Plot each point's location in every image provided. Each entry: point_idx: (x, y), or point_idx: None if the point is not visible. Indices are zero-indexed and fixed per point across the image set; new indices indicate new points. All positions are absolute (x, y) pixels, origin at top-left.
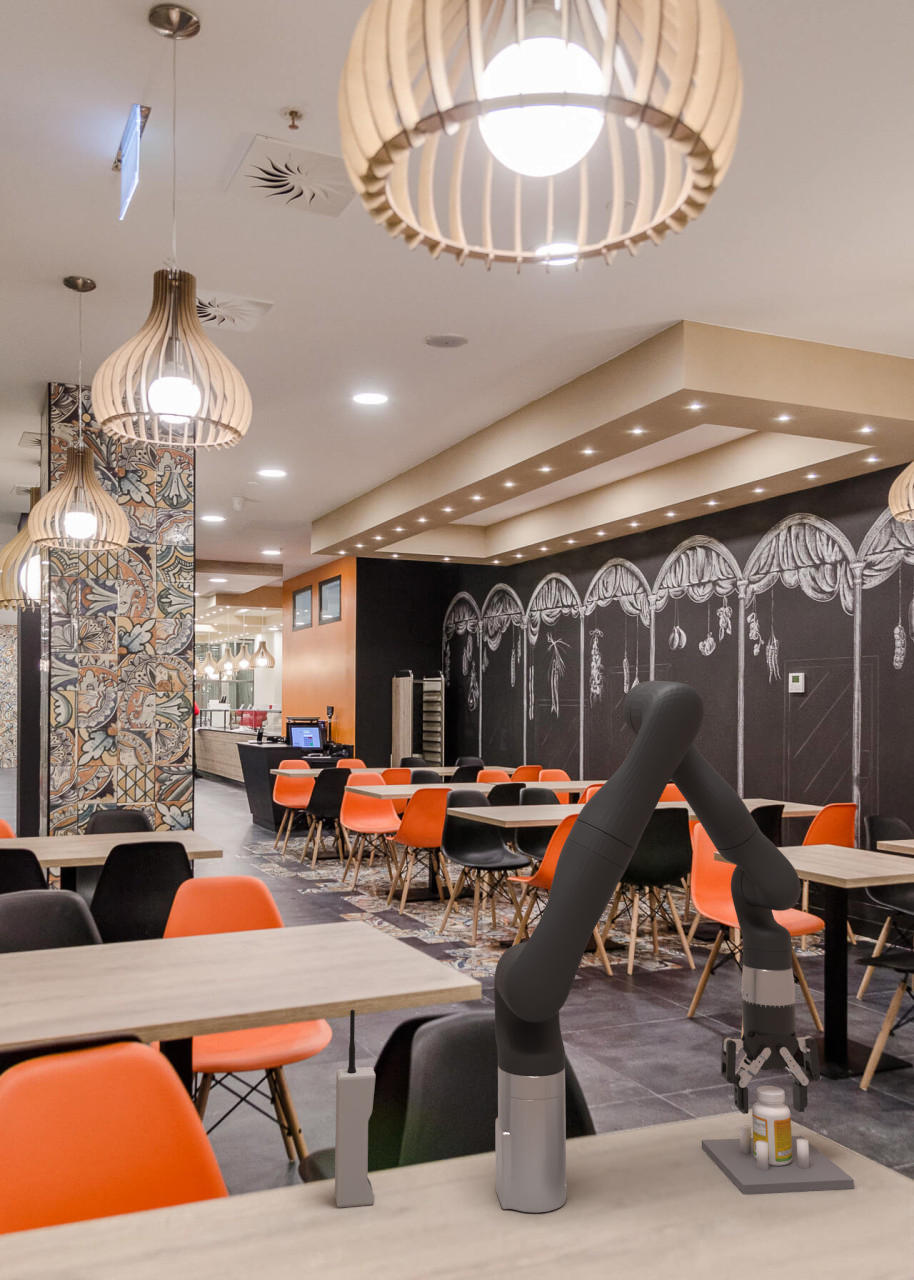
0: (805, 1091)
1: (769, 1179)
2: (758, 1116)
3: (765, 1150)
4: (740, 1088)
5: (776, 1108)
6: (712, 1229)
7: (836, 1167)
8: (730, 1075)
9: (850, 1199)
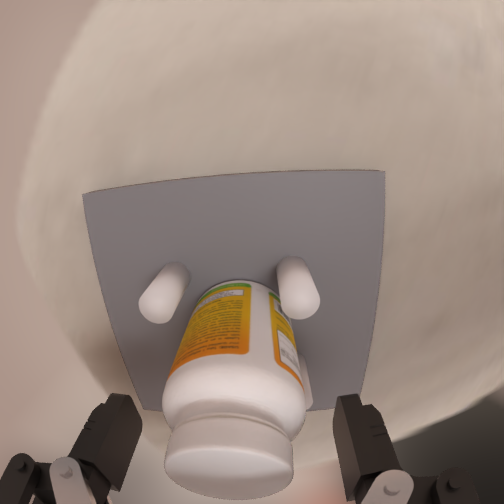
0: (81, 443)
1: (301, 199)
2: (300, 385)
3: (294, 277)
4: (388, 469)
5: (224, 399)
6: (464, 46)
7: (100, 264)
8: (461, 495)
9: (119, 133)
